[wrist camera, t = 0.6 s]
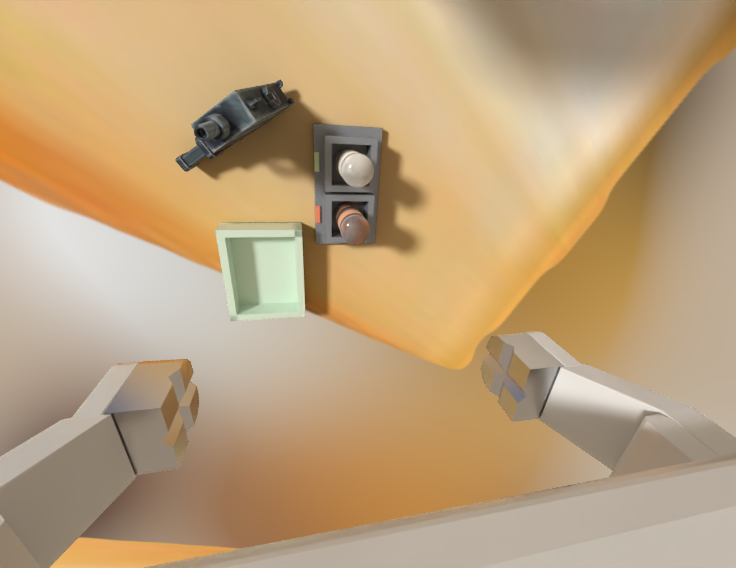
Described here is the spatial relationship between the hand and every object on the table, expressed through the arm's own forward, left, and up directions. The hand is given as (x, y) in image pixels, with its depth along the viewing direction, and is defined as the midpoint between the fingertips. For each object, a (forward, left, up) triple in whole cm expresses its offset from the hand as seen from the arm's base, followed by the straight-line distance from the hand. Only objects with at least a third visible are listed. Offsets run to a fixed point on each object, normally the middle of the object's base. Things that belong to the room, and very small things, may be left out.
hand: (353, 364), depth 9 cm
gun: (-5, -9, -40) cm, 41 cm away
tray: (+14, -7, -40) cm, 43 cm away
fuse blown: (+6, +5, -39) cm, 40 cm away
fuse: (-1, +5, -39) cm, 39 cm away
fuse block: (+2, +5, -40) cm, 40 cm away
